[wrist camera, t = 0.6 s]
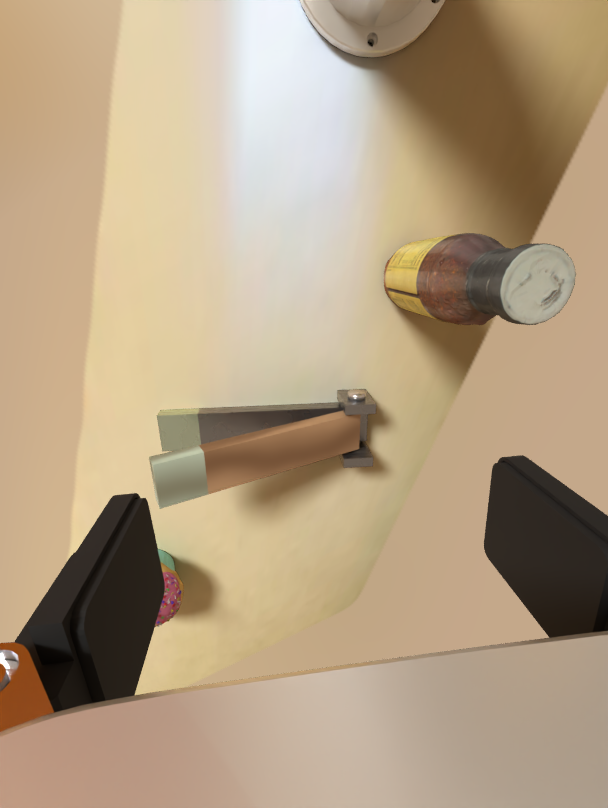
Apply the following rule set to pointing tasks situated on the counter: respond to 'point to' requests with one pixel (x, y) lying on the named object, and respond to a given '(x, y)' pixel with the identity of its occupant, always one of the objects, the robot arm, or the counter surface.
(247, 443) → the bar
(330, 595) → the counter surface
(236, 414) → the base
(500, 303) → the sauce bottle
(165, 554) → the cupcake
